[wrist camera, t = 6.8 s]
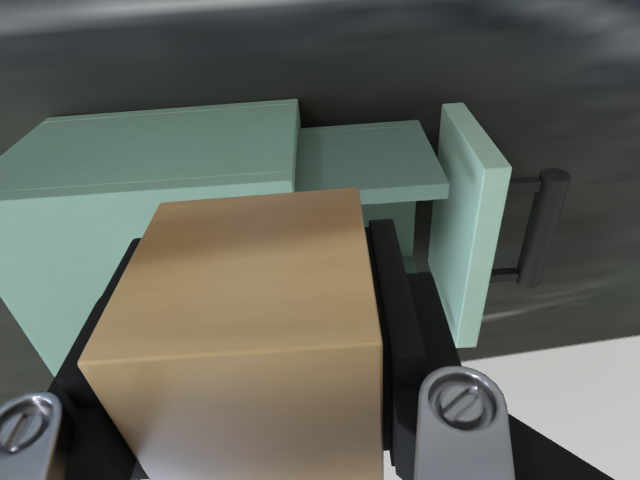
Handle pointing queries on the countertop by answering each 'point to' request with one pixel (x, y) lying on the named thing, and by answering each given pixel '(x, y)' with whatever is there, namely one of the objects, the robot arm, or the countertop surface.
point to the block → (246, 342)
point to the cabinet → (120, 197)
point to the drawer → (439, 201)
